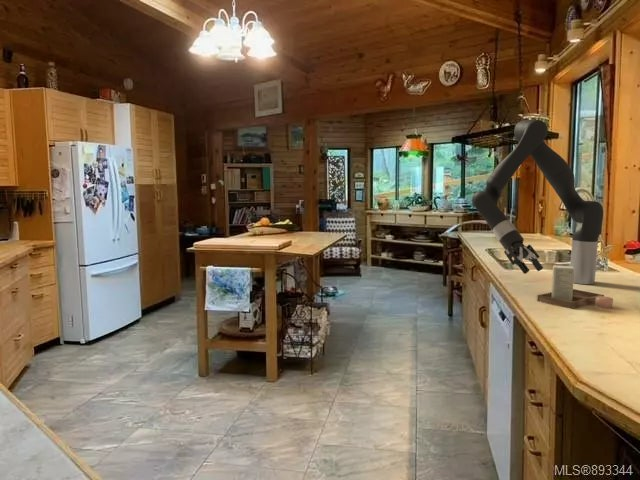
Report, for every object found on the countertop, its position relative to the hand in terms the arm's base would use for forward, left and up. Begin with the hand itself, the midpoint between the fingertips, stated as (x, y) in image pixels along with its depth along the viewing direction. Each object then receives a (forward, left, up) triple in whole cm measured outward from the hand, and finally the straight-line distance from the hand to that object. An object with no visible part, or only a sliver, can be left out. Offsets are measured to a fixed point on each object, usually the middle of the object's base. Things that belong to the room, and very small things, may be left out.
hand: (534, 271), depth 177 cm
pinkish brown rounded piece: (-7, +21, -9) cm, 24 cm away
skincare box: (+1, +11, -9) cm, 14 cm away
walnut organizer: (-5, +11, -9) cm, 15 cm away
